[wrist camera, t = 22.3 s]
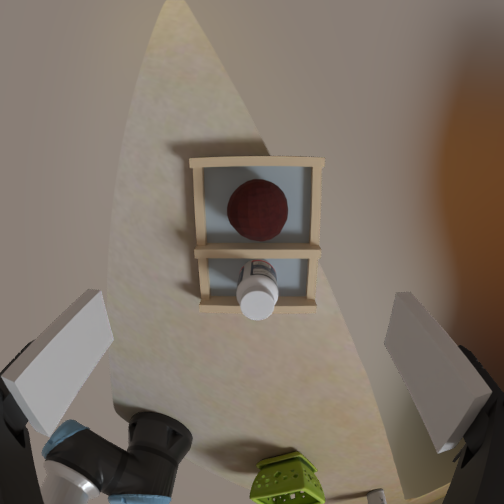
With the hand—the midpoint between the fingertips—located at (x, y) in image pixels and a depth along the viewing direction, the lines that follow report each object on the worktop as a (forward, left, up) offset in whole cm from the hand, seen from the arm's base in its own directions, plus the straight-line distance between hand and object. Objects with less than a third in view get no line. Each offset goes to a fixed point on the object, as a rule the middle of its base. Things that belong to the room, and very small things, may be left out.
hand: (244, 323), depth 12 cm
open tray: (0, -4, -29) cm, 29 cm away
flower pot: (+7, -63, -29) cm, 70 cm away
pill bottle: (0, -10, -28) cm, 30 cm away
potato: (0, 0, -28) cm, 28 cm away
